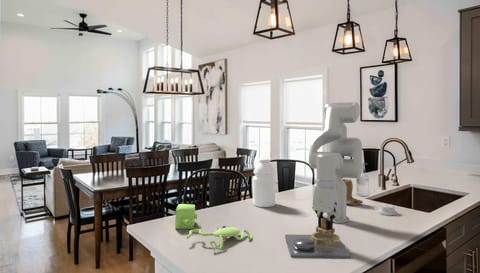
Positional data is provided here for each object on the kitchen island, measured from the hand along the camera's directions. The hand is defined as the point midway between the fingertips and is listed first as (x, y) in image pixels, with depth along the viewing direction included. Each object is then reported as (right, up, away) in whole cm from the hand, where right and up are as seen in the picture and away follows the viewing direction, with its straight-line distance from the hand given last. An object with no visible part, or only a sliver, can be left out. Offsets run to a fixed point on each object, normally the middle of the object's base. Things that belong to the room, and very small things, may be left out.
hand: (325, 227), depth 136 cm
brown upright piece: (+31, -4, +67) cm, 73 cm away
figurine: (-44, -7, +4) cm, 45 cm away
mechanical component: (+46, -5, +45) cm, 64 cm away
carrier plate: (-5, -7, -3) cm, 9 cm away
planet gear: (0, -2, 0) cm, 2 cm away
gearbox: (-61, -6, +24) cm, 66 cm away
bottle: (-21, -4, +64) cm, 68 cm away
